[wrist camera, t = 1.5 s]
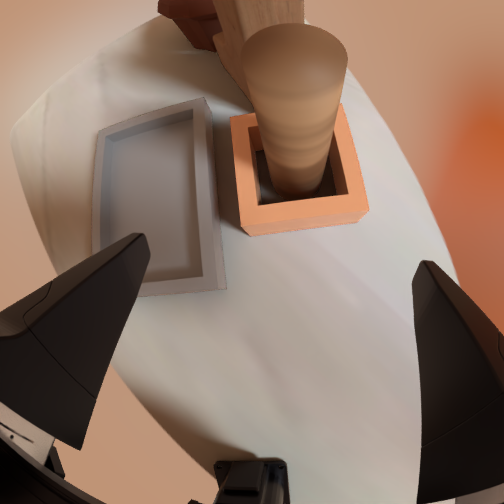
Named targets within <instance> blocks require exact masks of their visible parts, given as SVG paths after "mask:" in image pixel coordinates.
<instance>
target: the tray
mask: <svg viewBox="0 0 504 504" xmlns="http://www.w3.org/2000/svg"><path fill="white" fill-rule="evenodd" d="M133 232H137V233H144V234H145V235H146V238H147V242H148V245H149V249H150V252H151V257H150V261H149V264H148V267H147V270H146V272H145V275H144V278H143V281H142V284H141V287H140V290H139V293H138V296H137V297H143V296H156V295H167V294H179V293H190V292H200V291H210V290H220V289H227V287H226V278H225V269H224V259H223V249H222V239H221V228H220V217H219V206H218V194H217V182H216V170H215V157H214V143H213V128H212V112H211V110H210V108H209V106H208V104H207V102H206V100H205V98H204V97H203V98H199V99H195V100H191V101H187V102H183V103H180V104H176V105H172V106H169V107H165V108H162V109H159V110H156V111H152V112H149V113H146V114H143V115H140V116H137V117H134V118H131V119H128V120H126V121H123V122H120V123H118V124H115V125H112V126H110V127H107V128H105V129H102V130H100V131H99V133H98V140H97V148H96V157H95V167H94V179H93V195H92V255H94V254H96V253H97V252H99V251H101V250H103V249H104V248H106V247H108V246H110V245H111V244H113V243H115V242H117V241H118V240H120V239H122V238H124V237H126V236H127V235H129V234H131V233H133Z"/></svg>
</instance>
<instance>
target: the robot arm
mask: <svg viewBox="0 0 504 504" xmlns="http://www.w3.org/2000/svg"><path fill="white" fill-rule="evenodd" d="M150 257H151V252H150V249H149V245H148V242H147V238H146V235H145V234H144V233H137V232H133V233H131V234H129V235H127V236H126V237H124V238H122V239H120V240H118V241H117V242H115V243H113V244H111V245H110V246H108V247H106V248H104V249H103V250H101V251H99V252H97V253H96V254H94V255H92V256H91V257H89V258H87V259H86V260H84V261H82V262H81V263H79V264H77V265H76V266H74V267H72V268H71V269H69V270H67V271H66V272H64V273H63V274H61V275H59V276H58V277H56V278H55V279H53V281H50V282H48V283H47V284H45V285H44V286H42V287H41V288H39V289H37V290H36V291H34V292H33V293H31V294H29V295H28V296H26V297H24V298H23V299H21V300H19V301H18V302H16V303H14V304H13V305H11V306H9V307H7V308H6V309H4V310H3V311H1V312H0V504H106V503H104V502H102V501H100V500H98V499H96V498H94V497H92V496H90V495H89V494H87V493H85V492H84V491H82V490H80V489H78V488H77V487H75V486H73V485H72V484H70V483H68V482H67V481H66V480H64V477H65V473H64V470H63V468H62V465H61V462H60V459H59V456H58V453H57V450H56V448H55V447H54V446H53V443H54V441H55V439H58V440H60V441H62V442H64V443H66V444H67V445H69V446H71V447H73V448H75V449H77V450H81V448H82V445H83V442H84V438H85V435H86V431H87V428H88V425H89V421H90V419H91V415H92V412H93V409H94V406H95V403H96V399H97V397H98V394H99V391H100V388H101V385H102V383H103V380H104V376H105V374H106V372H107V369H108V366H109V364H110V361H111V358H112V356H113V353H114V351H115V348H116V346H117V343H118V341H119V338H120V336H121V333H122V331H123V328H124V326H125V324H126V321H127V319H128V316H129V314H130V312H131V310H132V307H133V305H134V303H135V300H136V298H137V296H138V293H139V290H140V287H141V284H142V281H143V278H144V275H145V272H146V270H147V267H148V264H149V261H150ZM412 294H413V309H414V327H415V335H416V343H417V352H418V362H419V373H420V388H421V415H422V436H421V446H422V447H421V459H420V474H419V485H418V494H417V504H427V503H433V502H439V501H444V500H448V499H453V498H455V504H504V336H503V334H502V333H501V332H500V331H499V330H498V328H496V326H495V325H494V324H493V323H492V321H491V320H490V319H489V318H488V317H487V316H486V315H485V313H484V312H483V311H482V310H481V309H480V308H479V307H478V306H477V305H476V304H475V303H474V301H473V300H472V299H471V298H470V297H469V296H468V295H467V294H466V293H465V292H464V291H463V290H462V289H461V288H460V287H459V286H458V285H457V284H456V283H455V282H454V281H453V280H452V279H451V278H450V277H449V276H448V275H447V274H446V273H445V272H444V271H443V270H442V269H441V268H440V267H439V266H438V265H437V264H436V263H435V262H433V261H429V260H422V261H421V262H420V264H419V266H418V268H417V271H416V273H415V275H414V277H413V280H412ZM218 465H220V466H221V467H219V466H218ZM280 465H282V466H283V467H279V466H280ZM214 470H215V474H216V479H217V483H218V486H219V491H218V493H217V495H216V498H215V500H214V502H213V504H290V493H289V482H288V471H287V463H286V462H284V461H267V462H261V461H234V462H229V461H217V462H215V464H214ZM188 504H202V503H199V502H198V501H195V500H192V499H191V500H190V501H189V503H188Z"/></svg>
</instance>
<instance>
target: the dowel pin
mask: <svg viewBox="0 0 504 504" xmlns="http://www.w3.org/2000/svg"><path fill="white" fill-rule="evenodd" d="M240 57H241V63H242V66H243V70H244V74H245V77H246V81H247V85H248V89H249V92H250V96H251V100H252V104H253V108H254V111H255V115H256V119H257V123H258V127H259V131H260V135H261V139H262V143H263V147H264V152H265V156H266V160H267V164H268V168H269V173H270V177H271V181H272V185H273V188H274V190H275V191H276V193H277V194H278V195H279V196H280V197H282V198H283V199H285V200H287V201H296V200H304V199H310V198H312V197H313V196H314V195H315V194H316V193H317V192H318V190H319V188H320V185H321V181H322V177H323V173H324V169H325V165H326V161H327V156H328V152H329V148H330V144H331V139H332V135H333V130H334V126H335V121H336V117H337V112H338V107H339V103H340V98H341V93H342V88H343V83H344V78H345V73H346V67H347V61H348V57H347V52H346V50H345V48H344V46H343V45H342V43H341V42H340V41H339V40H338V39H337V38H336V37H334V36H333V35H332V34H330V33H329V32H327V31H325V30H323V29H321V28H318V27H314V26H311V25H307V24H299V23H284V24H277V25H273V26H270V27H266V28H264V29H262V30H260V31H258V32H256V33H255V34H253V35H252V36H251V37H250V38H249V39H248V40H247V41H246V42H245V43H244V45H243V47H242V50H241V54H240Z"/></svg>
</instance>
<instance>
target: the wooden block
mask: <svg viewBox="0 0 504 504" xmlns="http://www.w3.org/2000/svg"><path fill="white" fill-rule="evenodd" d="M213 3H214V6H215V9H216V12H217V15H218V18H219V21H220V24H221V27H222V30H223V31H222V32H220V33H218V34H215V35H214V36H213V41H214V44H215V47H216V49H217V52H218V55H219V58H220V60H221V63H222V65H223V66H224V67H225V69H226V70H227V71H228V72H229V74H230V75H231V76H232V78H233V79H234V80H235V82H236V83H237V84H238V86H239V87H240V88H241V90H242V91H243V92H244V94H245V95H246V97H247V98H248V99H249V101H250V102H251V103H252V100H251V96H250V92H249V89H248V85H247V81H246V77H245V74H244V70H243V66H242V63H241V57H240V54H241V50H242V47H243V45H244V43H245V42H246V41H247V40H248V39H249V38H250V37H251V36H252V35H253V34H255V33H256V32H258V31H260V30H262V29H264V28H266V27H270V26H273V25H277V24H284V23H299V24H304V0H213ZM252 105H253V104H252Z"/></svg>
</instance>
